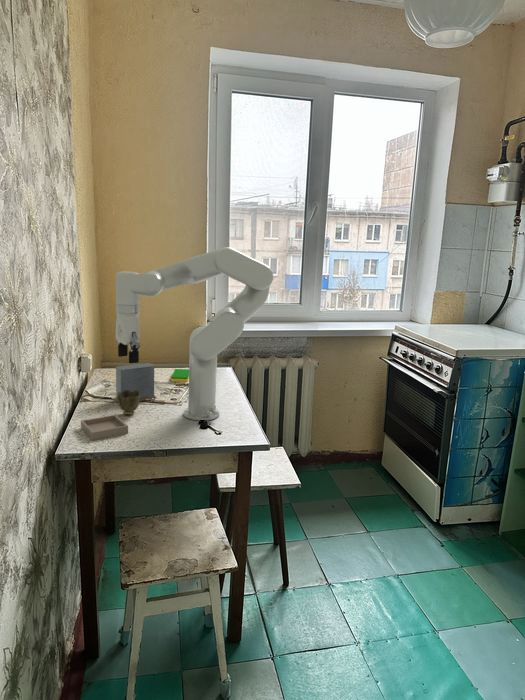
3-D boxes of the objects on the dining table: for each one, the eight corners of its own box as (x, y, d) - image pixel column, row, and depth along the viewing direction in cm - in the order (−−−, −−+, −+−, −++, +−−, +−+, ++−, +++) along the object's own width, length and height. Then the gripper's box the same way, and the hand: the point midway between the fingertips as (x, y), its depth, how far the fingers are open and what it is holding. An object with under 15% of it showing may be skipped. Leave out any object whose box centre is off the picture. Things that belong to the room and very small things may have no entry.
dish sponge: (190, 374, 223) (190, 369, 222) (187, 383, 209) (187, 377, 209) (175, 373, 222) (175, 368, 222) (171, 382, 209) (171, 377, 208)
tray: (128, 433, 152) (128, 425, 152) (92, 440, 146) (92, 432, 145) (115, 421, 161) (115, 414, 161) (81, 427, 154) (80, 420, 154)
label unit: (155, 398, 186) (156, 366, 183) (120, 404, 177) (120, 370, 174) (149, 394, 190) (149, 362, 187) (114, 399, 182) (114, 366, 179)
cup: (143, 411, 172) (143, 390, 170) (135, 419, 164) (135, 396, 163) (122, 410, 172) (122, 388, 170) (114, 417, 165) (114, 394, 163)
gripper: (108, 305, 165) (108, 354, 168) (126, 313, 151) (127, 366, 155) (129, 305, 169) (129, 352, 173) (149, 313, 156) (149, 364, 159)
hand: (128, 359), depth 164 cm, fingers open, 9 cm apart
